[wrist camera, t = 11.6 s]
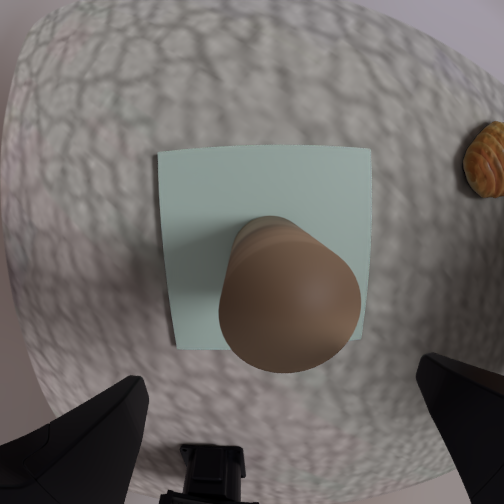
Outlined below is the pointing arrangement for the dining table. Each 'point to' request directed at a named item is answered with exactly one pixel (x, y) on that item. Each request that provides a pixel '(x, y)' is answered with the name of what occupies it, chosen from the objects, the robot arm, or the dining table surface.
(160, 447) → the dining table surface
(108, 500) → the robot arm
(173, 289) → the card
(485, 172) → the pastry
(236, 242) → the brown rounded cylinder
